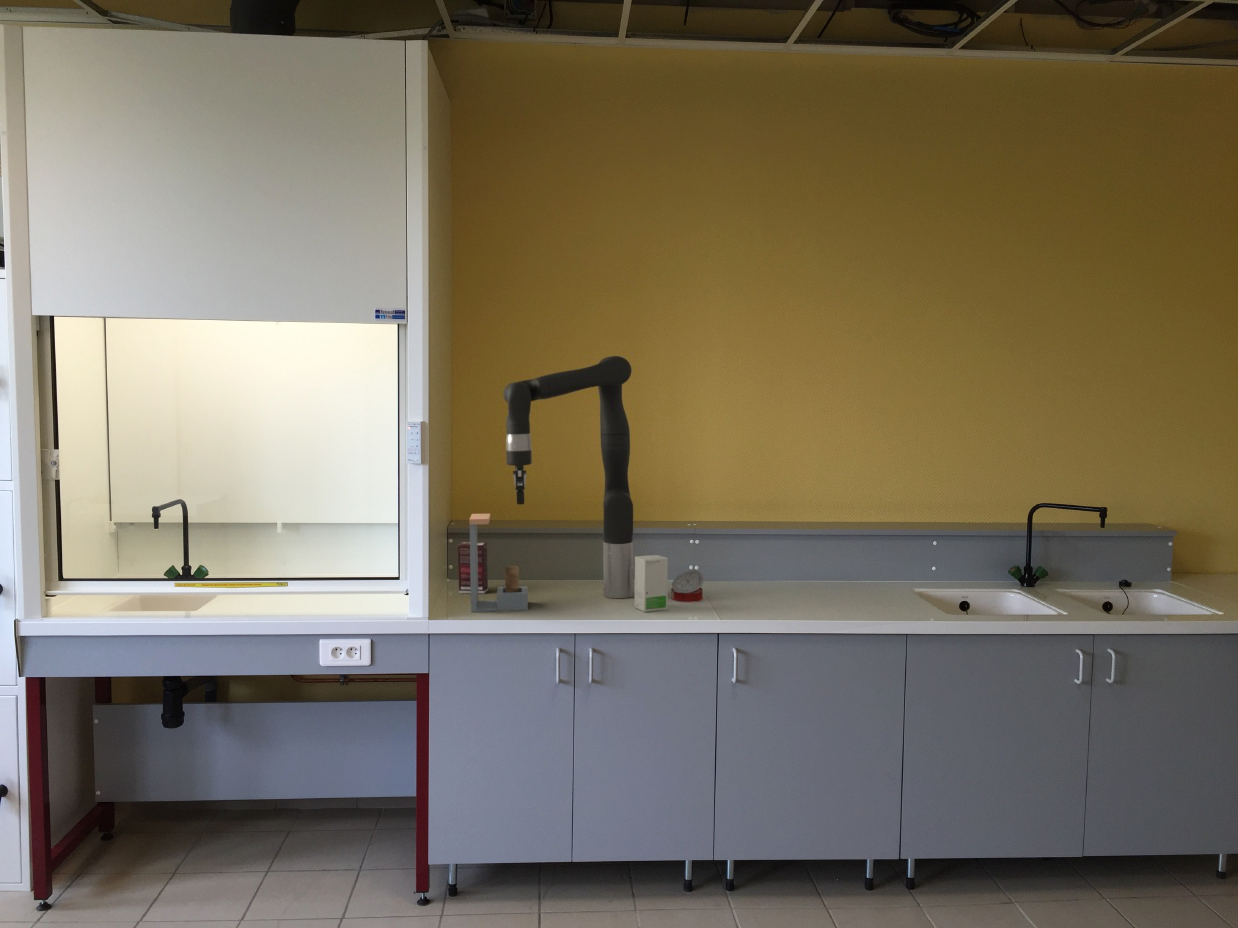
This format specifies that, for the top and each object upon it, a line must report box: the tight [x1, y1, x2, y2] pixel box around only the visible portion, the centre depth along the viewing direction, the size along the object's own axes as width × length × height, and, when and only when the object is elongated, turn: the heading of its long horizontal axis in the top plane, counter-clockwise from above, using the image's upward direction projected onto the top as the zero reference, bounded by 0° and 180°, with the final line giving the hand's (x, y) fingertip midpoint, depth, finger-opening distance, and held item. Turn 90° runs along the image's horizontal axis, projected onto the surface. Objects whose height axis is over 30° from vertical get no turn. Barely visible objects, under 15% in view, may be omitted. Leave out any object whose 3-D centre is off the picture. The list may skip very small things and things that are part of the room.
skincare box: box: [634, 554, 669, 613], centre depth 244 cm, size 8×7×16 cm
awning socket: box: [468, 513, 529, 613], centre depth 246 cm, size 16×11×28 cm, turn 96°
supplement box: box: [457, 541, 489, 594], centre depth 265 cm, size 9×5×16 cm, turn 84°
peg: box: [504, 565, 520, 592], centre depth 247 cm, size 4×4×12 cm
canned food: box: [670, 569, 704, 603], centre depth 257 cm, size 11×10×10 cm
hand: (520, 502), depth 248 cm, fingers open, 8 cm apart
